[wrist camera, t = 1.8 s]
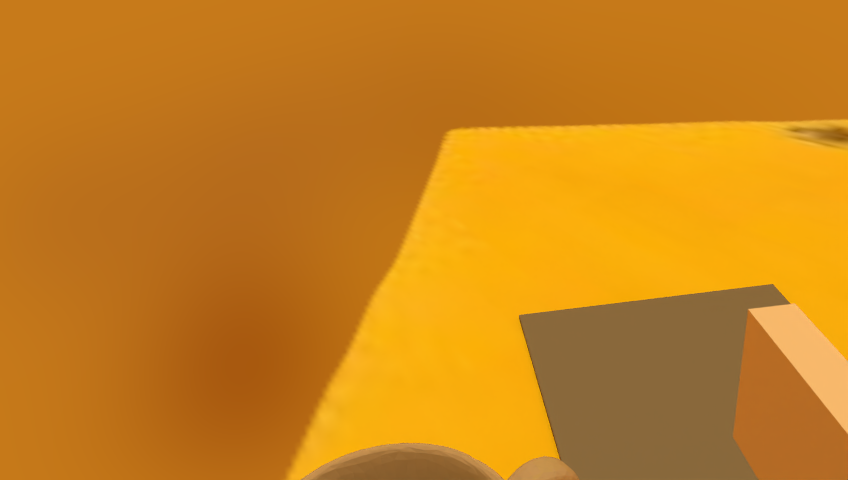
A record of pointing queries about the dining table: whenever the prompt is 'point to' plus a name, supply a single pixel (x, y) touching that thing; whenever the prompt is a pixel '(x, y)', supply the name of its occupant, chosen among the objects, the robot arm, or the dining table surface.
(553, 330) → the placemat
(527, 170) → the dining table surface
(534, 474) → the teacup
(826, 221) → the dining table surface
